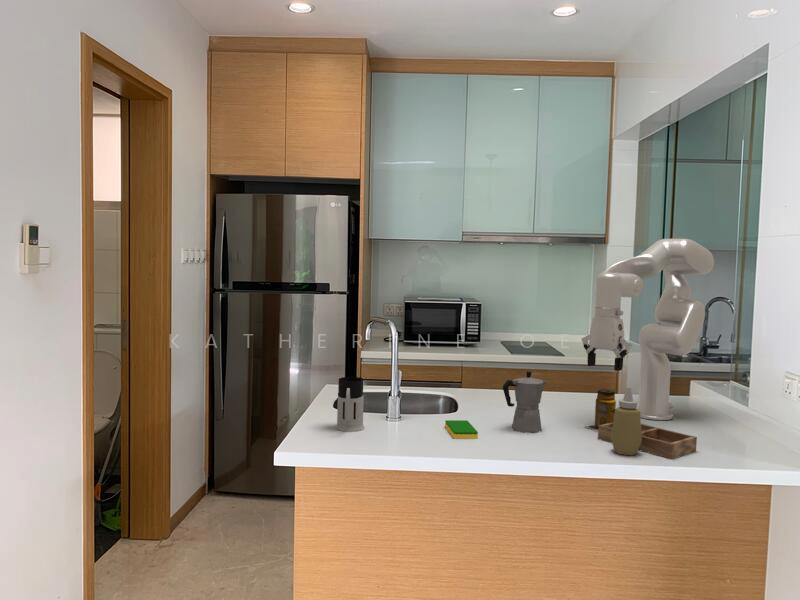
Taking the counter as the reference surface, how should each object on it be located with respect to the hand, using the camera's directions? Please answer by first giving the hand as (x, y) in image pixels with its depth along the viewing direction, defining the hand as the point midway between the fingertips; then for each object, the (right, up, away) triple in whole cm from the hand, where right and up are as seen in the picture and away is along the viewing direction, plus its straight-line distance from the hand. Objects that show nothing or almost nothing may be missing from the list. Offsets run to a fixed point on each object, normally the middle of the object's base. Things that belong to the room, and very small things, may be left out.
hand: (604, 368), depth 202 cm
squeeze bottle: (-2, -21, -24) cm, 32 cm away
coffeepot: (-26, -19, -2) cm, 32 cm away
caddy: (+7, -20, -16) cm, 27 cm away
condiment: (0, -19, +1) cm, 20 cm away
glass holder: (-79, -18, -8) cm, 81 cm away
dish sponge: (-46, -19, -7) cm, 50 cm away
